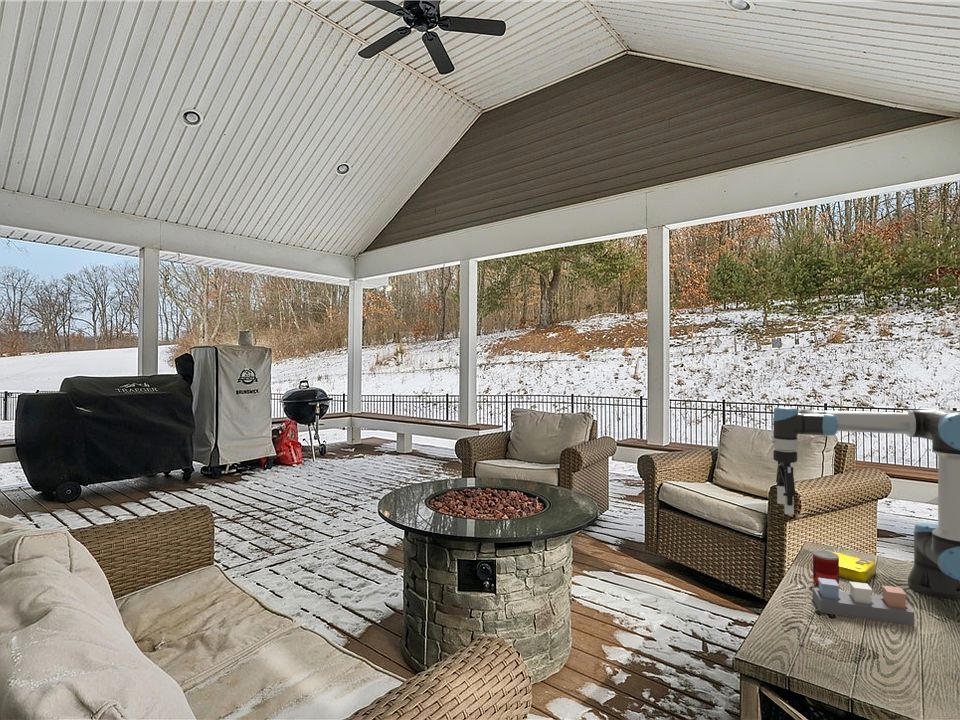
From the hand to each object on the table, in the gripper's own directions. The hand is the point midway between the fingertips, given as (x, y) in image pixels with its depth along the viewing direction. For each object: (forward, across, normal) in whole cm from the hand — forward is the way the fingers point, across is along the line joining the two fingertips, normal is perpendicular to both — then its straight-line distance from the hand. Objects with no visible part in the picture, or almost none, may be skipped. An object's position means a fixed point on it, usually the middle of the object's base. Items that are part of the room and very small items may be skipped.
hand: (785, 508), depth 191 cm
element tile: (+29, -22, +25) cm, 44 cm away
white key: (+24, +14, +19) cm, 34 cm away
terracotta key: (+24, +14, +28) cm, 40 cm away
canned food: (+28, -6, +14) cm, 32 cm away
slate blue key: (+24, +14, +10) cm, 30 cm away
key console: (+28, +14, +19) cm, 37 cm away
